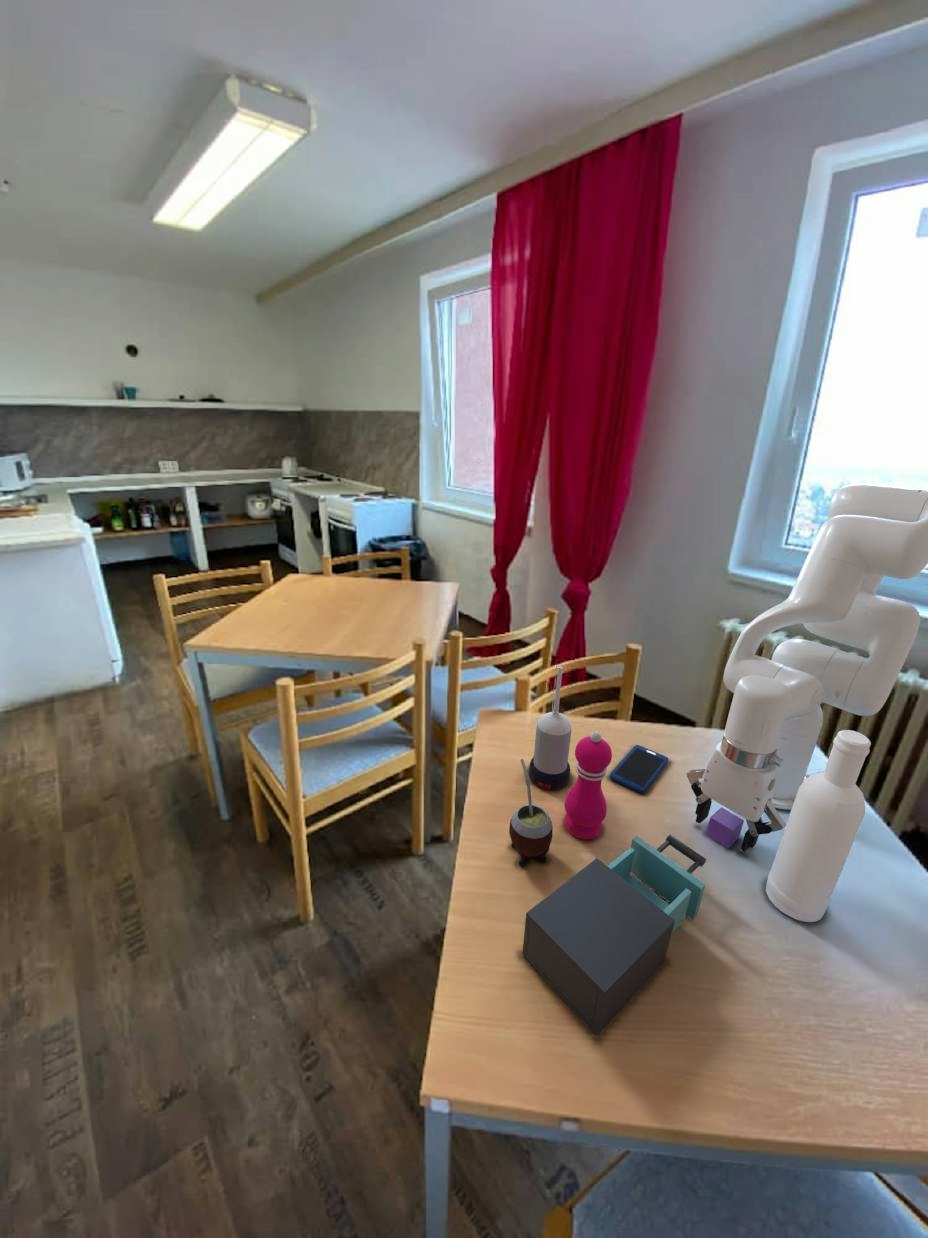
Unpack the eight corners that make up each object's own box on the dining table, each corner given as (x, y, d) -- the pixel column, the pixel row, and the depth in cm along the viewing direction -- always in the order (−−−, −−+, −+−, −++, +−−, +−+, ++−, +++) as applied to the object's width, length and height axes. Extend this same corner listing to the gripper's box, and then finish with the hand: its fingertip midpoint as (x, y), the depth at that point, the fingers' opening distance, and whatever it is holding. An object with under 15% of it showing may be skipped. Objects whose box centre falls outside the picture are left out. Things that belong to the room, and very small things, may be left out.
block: (717, 824, 94) (721, 807, 92) (739, 837, 91) (744, 820, 89) (705, 834, 91) (710, 817, 90) (728, 848, 89) (733, 831, 87)
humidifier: (537, 793, 100) (548, 679, 90) (523, 766, 107) (531, 658, 98) (576, 787, 102) (590, 675, 92) (559, 761, 109) (571, 655, 100)
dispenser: (590, 897, 79) (596, 857, 76) (664, 962, 70) (675, 920, 67) (522, 954, 71) (526, 912, 68) (596, 1036, 62) (605, 993, 59)
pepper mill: (604, 845, 89) (620, 749, 81) (561, 838, 90) (573, 742, 82) (602, 815, 95) (617, 723, 87) (562, 809, 96) (574, 717, 89)
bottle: (816, 886, 82) (879, 726, 70) (831, 931, 75) (903, 761, 63) (760, 872, 84) (812, 715, 73) (769, 913, 77) (828, 747, 66)
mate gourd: (539, 877, 82) (547, 803, 77) (495, 855, 86) (500, 783, 80) (557, 846, 88) (566, 775, 82) (515, 827, 92) (521, 758, 86)
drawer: (650, 848, 87) (657, 819, 85) (716, 895, 79) (725, 864, 77) (575, 911, 76) (580, 879, 74) (643, 973, 68) (651, 940, 65)
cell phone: (669, 760, 110) (669, 757, 110) (643, 795, 100) (643, 791, 100) (636, 746, 114) (636, 743, 114) (607, 778, 104) (608, 775, 104)
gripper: (815, 768, 80) (785, 854, 87) (707, 717, 92) (688, 796, 99) (795, 788, 76) (765, 877, 82) (684, 732, 88) (666, 813, 95)
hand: (723, 832), depth 91 cm, fingers open, 7 cm apart
